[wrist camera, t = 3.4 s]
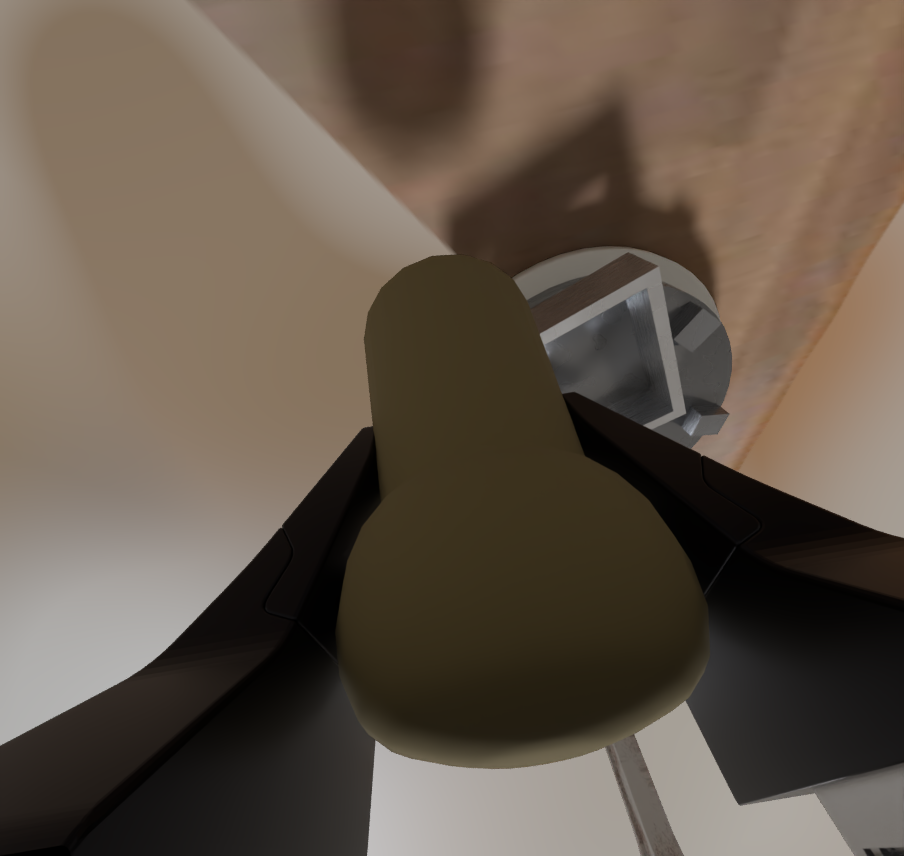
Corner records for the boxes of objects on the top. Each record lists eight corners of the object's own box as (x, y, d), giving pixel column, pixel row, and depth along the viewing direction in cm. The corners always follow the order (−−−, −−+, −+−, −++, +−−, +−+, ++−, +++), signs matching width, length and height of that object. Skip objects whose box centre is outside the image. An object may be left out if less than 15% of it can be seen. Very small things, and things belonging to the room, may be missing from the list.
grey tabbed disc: (718, 429, 27) (765, 472, 23) (514, 518, 31) (529, 566, 27) (691, 192, 17) (769, 203, 13) (395, 371, 21) (394, 416, 17)
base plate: (694, 164, 17) (712, 164, 16) (720, 421, 28) (732, 431, 27) (376, 361, 22) (375, 372, 21) (506, 517, 33) (509, 528, 32)
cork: (343, 385, 13) (236, 818, 5) (399, 216, 10) (375, 603, 2) (483, 429, 15) (583, 786, 7) (566, 300, 12) (950, 667, 4)
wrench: (555, 576, 40) (768, 1166, 17) (539, 578, 40) (731, 1175, 17) (564, 534, 35) (883, 1290, 12) (546, 536, 35) (831, 1302, 12)
